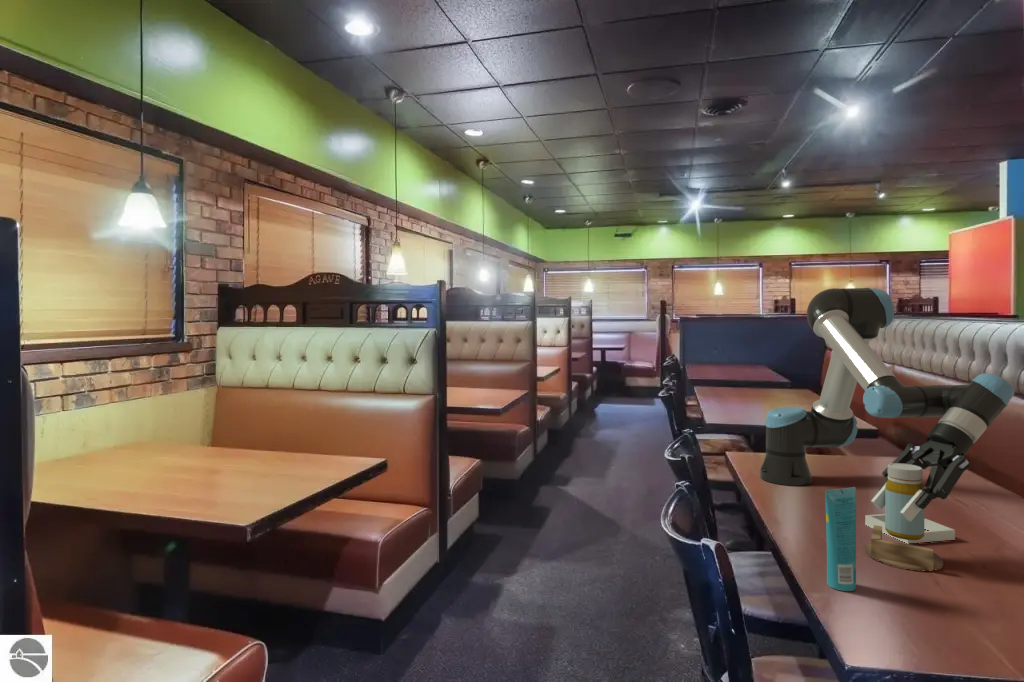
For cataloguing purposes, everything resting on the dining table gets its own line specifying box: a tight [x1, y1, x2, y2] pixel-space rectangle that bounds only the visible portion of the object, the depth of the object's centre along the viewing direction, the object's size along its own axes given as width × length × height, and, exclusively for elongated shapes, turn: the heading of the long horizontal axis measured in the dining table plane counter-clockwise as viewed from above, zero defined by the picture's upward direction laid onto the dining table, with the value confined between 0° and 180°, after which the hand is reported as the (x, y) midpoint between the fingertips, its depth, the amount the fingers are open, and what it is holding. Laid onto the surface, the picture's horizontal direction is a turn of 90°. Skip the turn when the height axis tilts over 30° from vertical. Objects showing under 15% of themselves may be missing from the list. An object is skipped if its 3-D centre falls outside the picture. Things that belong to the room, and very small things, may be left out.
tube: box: [824, 486, 857, 592], centre depth 109 cm, size 7×5×19 cm, turn 112°
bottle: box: [884, 462, 926, 540], centre depth 122 cm, size 7×7×15 cm
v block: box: [864, 525, 944, 572], centre depth 122 cm, size 14×15×4 cm
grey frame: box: [864, 513, 956, 545], centre depth 136 cm, size 13×13×2 cm
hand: (890, 510), depth 121 cm, fingers closed on bottle, 7 cm apart
